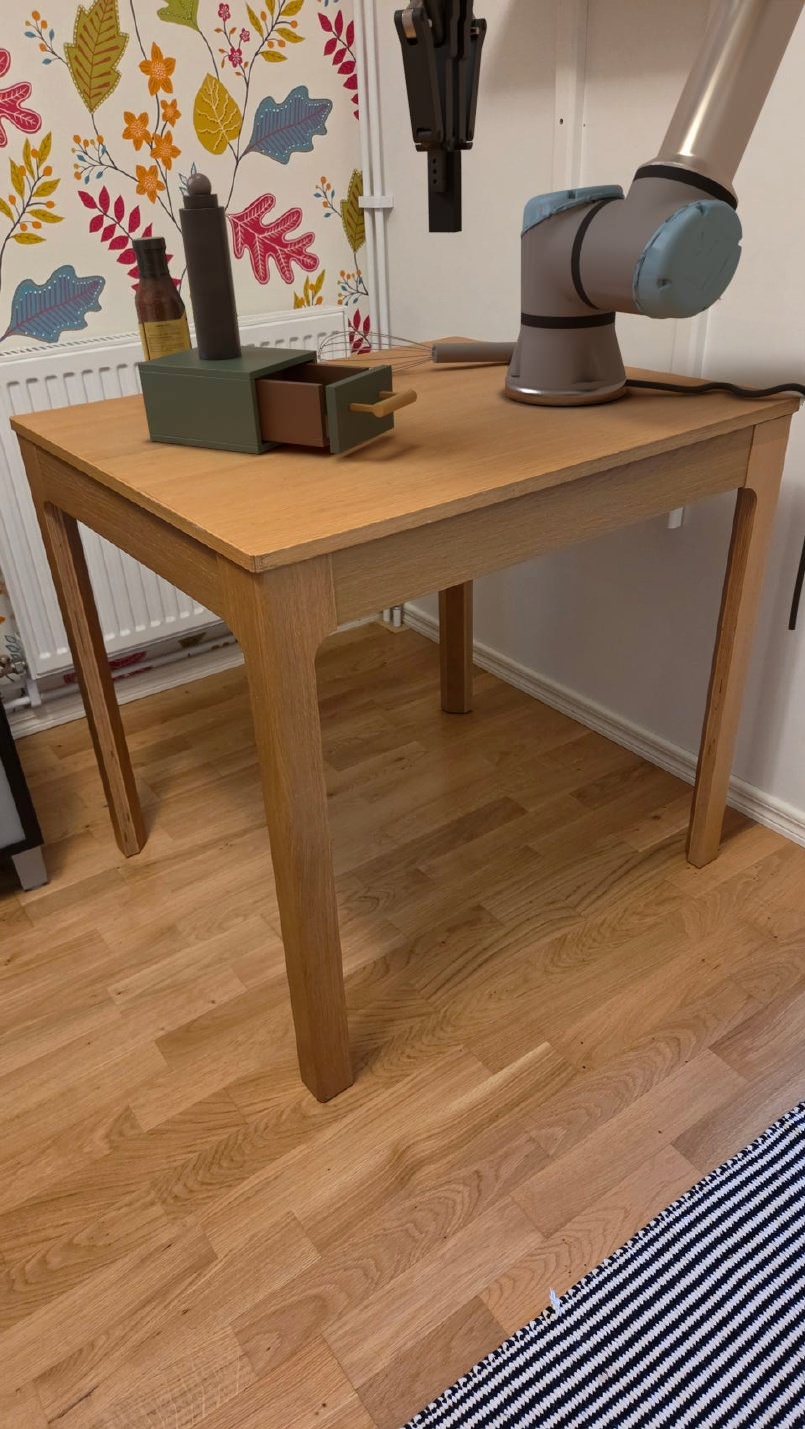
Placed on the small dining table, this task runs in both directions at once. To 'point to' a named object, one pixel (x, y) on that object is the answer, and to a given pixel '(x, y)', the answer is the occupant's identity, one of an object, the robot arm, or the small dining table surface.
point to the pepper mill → (209, 271)
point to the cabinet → (211, 397)
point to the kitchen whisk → (443, 351)
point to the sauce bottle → (158, 302)
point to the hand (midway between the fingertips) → (445, 231)
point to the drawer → (328, 404)
